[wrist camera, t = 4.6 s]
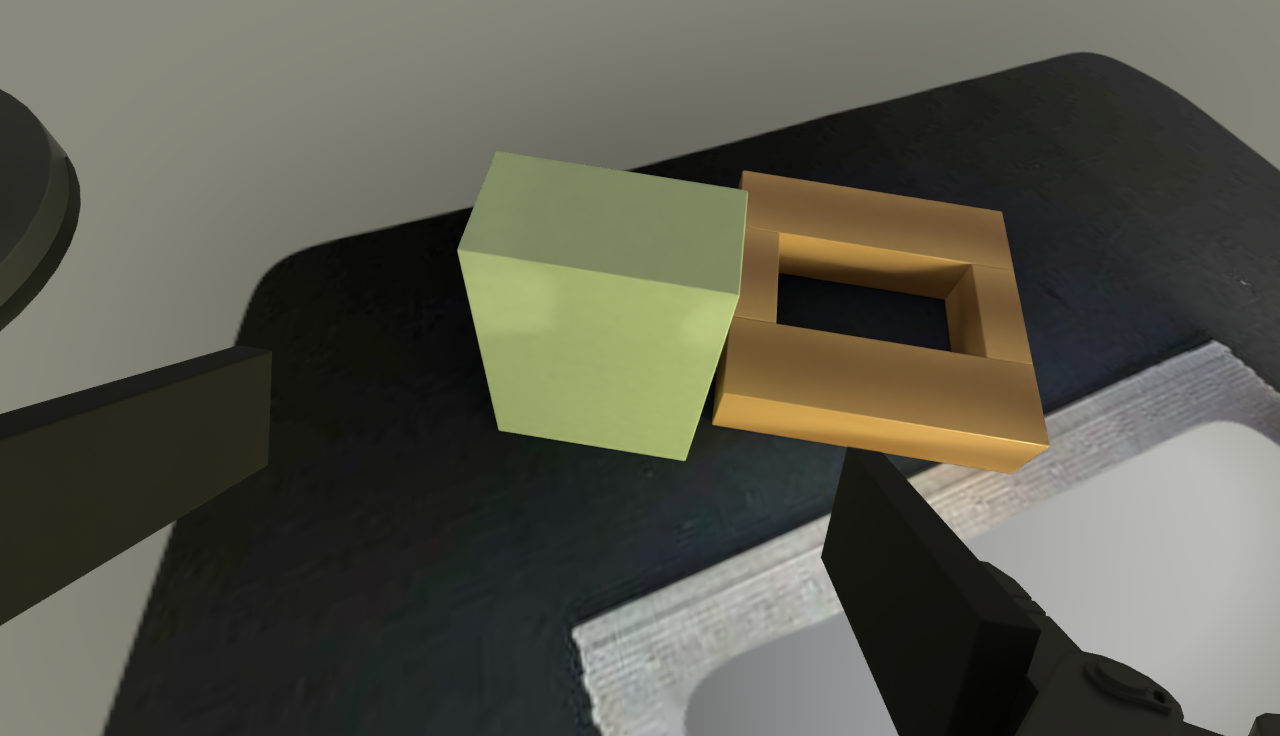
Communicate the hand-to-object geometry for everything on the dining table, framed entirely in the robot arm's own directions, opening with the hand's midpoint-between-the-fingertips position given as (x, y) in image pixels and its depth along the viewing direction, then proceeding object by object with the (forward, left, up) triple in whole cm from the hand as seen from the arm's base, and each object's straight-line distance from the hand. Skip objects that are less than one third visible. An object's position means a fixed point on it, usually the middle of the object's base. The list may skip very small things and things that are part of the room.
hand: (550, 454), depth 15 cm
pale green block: (-8, +4, -13) cm, 16 cm away
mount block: (-8, +18, -13) cm, 24 cm away
